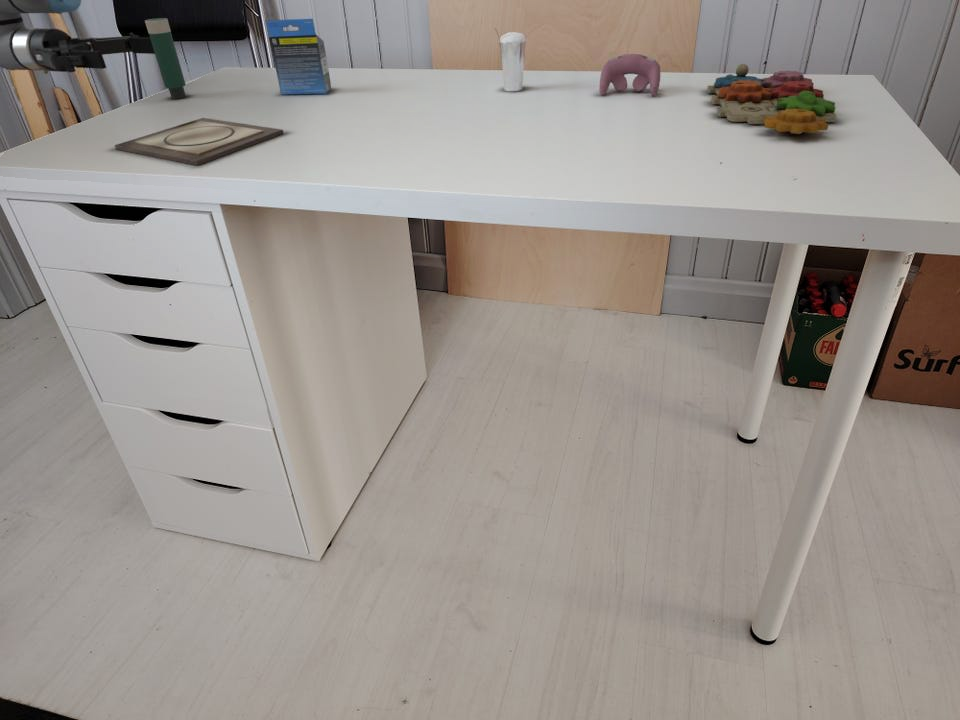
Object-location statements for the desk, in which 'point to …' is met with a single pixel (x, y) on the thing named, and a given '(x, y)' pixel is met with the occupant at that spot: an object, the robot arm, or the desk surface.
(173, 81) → the marker
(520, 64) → the milkshake
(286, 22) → the tape cartridge
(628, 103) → the desk surface
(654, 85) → the video game controller
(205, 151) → the picture frame
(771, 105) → the gear puzzle
